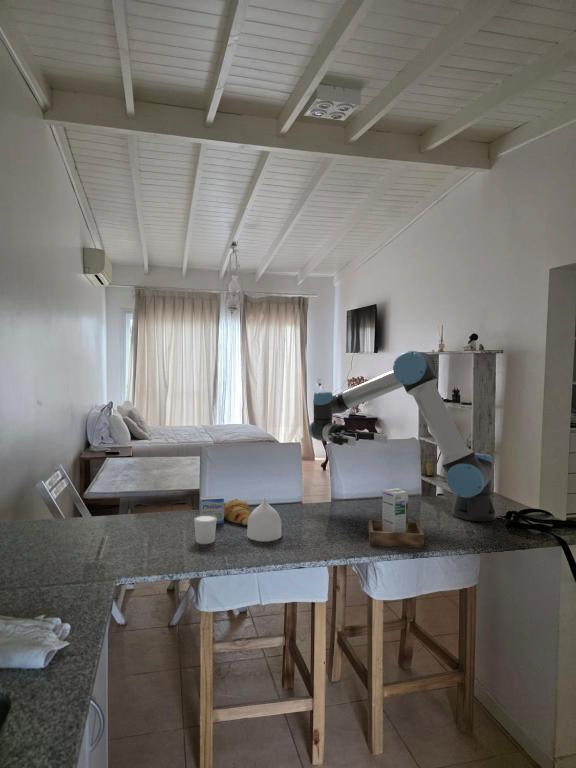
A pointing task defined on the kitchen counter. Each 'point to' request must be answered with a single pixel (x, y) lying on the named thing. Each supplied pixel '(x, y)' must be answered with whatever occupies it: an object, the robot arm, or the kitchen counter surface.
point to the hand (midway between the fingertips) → (370, 440)
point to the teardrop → (264, 523)
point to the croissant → (237, 511)
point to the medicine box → (213, 507)
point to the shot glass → (205, 529)
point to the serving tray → (396, 535)
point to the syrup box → (395, 511)
